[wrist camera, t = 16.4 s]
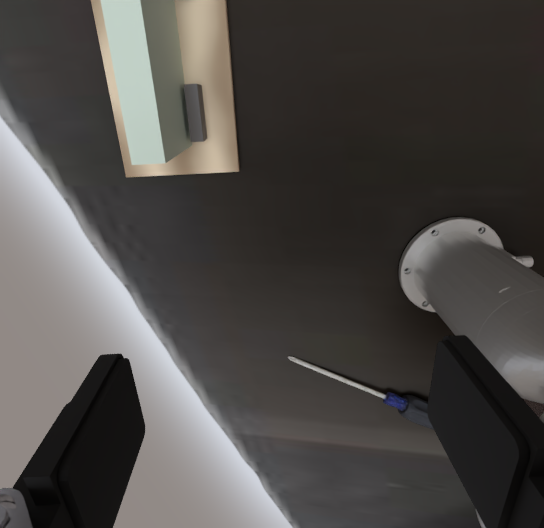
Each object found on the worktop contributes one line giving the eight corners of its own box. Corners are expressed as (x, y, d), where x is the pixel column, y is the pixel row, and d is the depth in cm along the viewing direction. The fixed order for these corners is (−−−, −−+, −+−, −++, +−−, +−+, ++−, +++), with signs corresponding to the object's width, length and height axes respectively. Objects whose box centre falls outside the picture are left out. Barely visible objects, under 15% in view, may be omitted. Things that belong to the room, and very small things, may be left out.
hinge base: (217, -119, 32) (161, -397, 14) (239, 169, 42) (223, 221, 24) (75, -112, 32) (-164, -384, 14) (130, 174, 41) (32, 231, 24)
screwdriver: (282, 365, 53) (283, 383, 49) (293, 345, 51) (296, 363, 48) (435, 419, 58) (446, 439, 54) (449, 402, 56) (461, 422, 53)
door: (164, -78, 32) (113, -171, 21) (192, 145, 39) (165, 163, 28) (120, -76, 32) (46, -168, 21) (156, 147, 39) (115, 165, 28)
